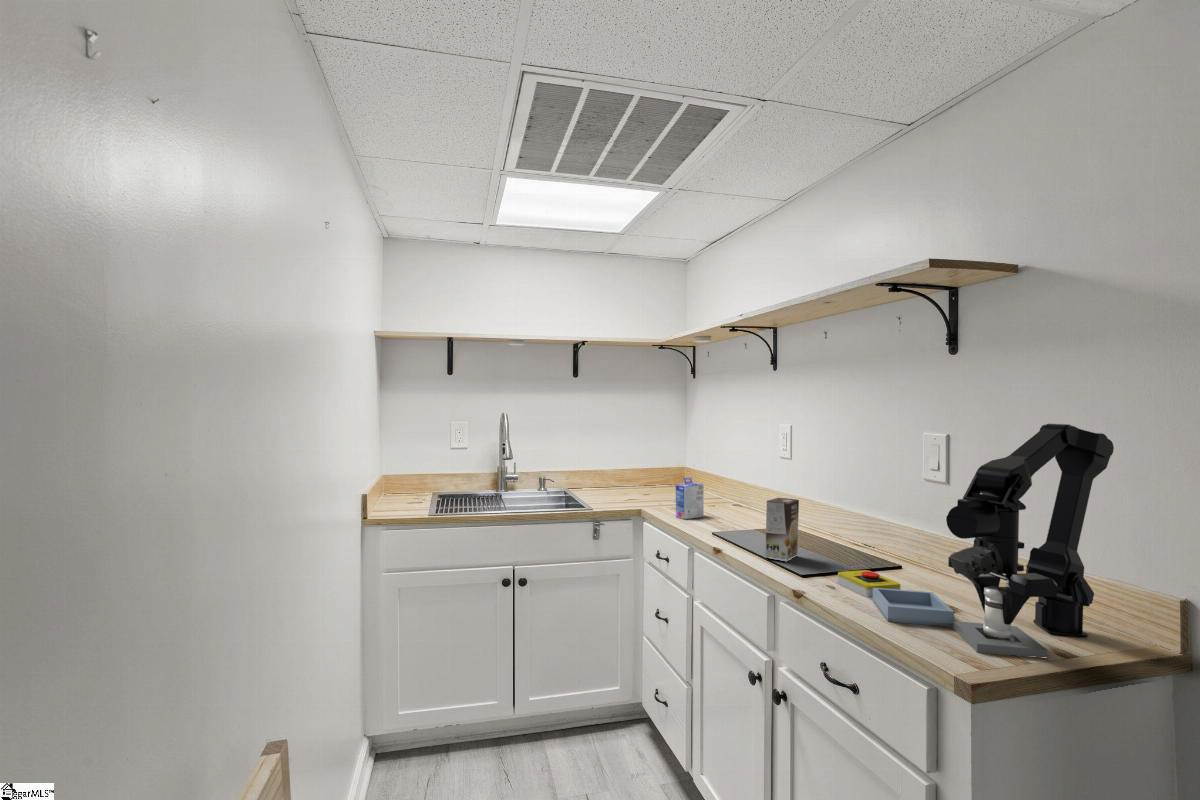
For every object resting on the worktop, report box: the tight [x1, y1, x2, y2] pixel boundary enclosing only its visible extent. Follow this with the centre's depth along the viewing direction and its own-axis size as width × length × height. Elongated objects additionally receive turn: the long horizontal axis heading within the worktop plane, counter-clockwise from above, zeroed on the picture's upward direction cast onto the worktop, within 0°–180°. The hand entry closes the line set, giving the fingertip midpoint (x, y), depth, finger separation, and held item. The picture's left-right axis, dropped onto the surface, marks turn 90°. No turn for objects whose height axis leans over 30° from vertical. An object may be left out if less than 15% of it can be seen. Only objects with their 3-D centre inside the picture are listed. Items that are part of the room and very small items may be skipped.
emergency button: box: [831, 569, 902, 601], centre depth 139 cm, size 9×4×15 cm
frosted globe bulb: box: [983, 586, 1012, 639], centre depth 108 cm, size 4×4×8 cm
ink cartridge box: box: [675, 477, 705, 520], centre depth 220 cm, size 10×6×14 cm, turn 124°
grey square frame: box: [952, 620, 1049, 658], centre depth 108 cm, size 11×11×2 cm
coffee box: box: [764, 497, 800, 560], centre depth 165 cm, size 9×6×16 cm
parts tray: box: [872, 588, 955, 628], centre depth 123 cm, size 12×12×3 cm
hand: (997, 619), depth 108 cm, fingers closed on frosted globe bulb, 4 cm apart
